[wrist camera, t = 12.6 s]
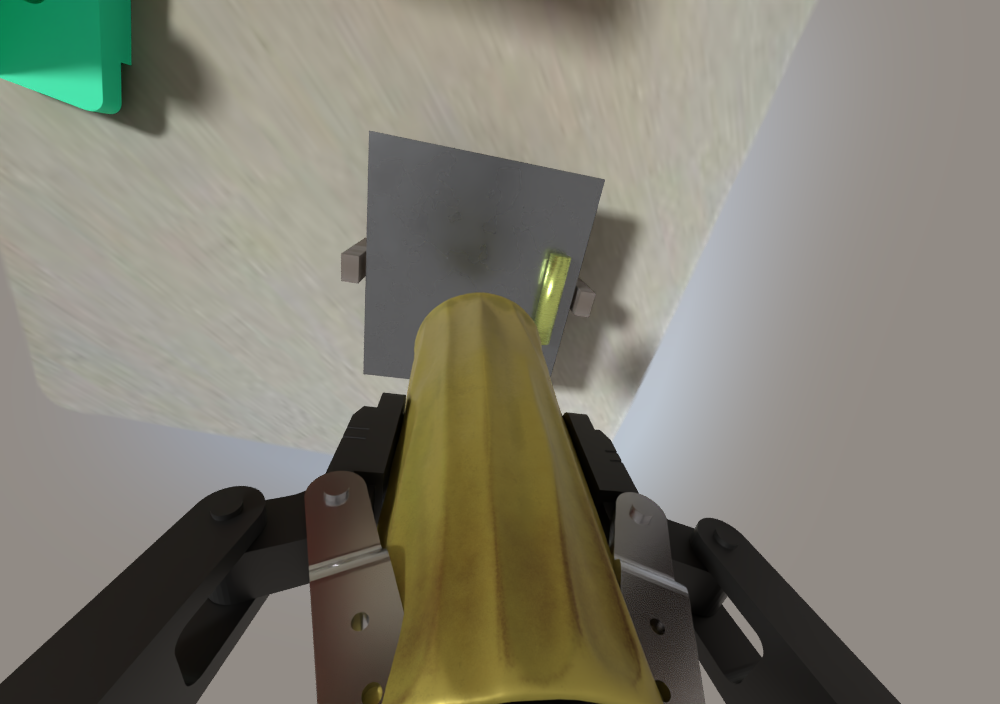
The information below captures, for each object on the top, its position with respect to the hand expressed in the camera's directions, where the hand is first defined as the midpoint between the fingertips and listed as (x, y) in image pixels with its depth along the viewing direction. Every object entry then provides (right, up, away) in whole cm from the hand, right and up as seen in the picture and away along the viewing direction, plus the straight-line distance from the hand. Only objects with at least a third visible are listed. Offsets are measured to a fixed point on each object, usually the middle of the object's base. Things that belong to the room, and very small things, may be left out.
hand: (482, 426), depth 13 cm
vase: (0, +3, +6) cm, 6 cm away
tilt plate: (-1, +8, +16) cm, 18 cm away
